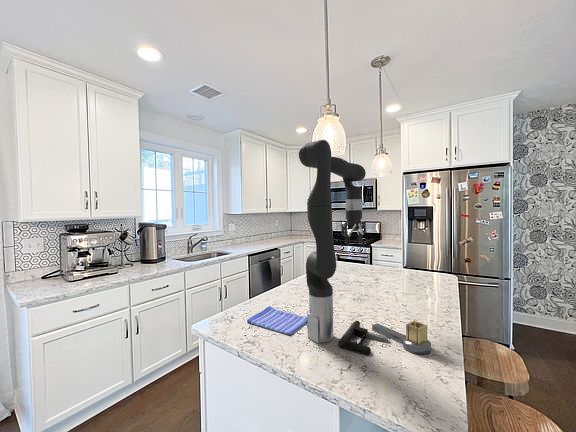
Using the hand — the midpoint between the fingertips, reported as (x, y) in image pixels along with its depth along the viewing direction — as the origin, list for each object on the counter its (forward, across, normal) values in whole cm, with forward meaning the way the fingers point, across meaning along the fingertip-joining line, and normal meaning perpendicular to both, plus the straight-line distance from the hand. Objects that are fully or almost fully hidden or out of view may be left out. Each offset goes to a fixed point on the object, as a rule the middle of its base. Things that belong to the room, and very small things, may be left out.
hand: (354, 243), depth 125 cm
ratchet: (+33, +6, +27) cm, 43 cm away
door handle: (+34, +17, +20) cm, 42 cm away
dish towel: (+34, +34, -14) cm, 50 cm away
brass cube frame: (+31, +6, +34) cm, 46 cm away
